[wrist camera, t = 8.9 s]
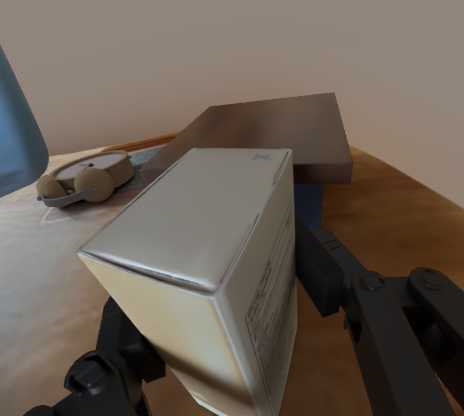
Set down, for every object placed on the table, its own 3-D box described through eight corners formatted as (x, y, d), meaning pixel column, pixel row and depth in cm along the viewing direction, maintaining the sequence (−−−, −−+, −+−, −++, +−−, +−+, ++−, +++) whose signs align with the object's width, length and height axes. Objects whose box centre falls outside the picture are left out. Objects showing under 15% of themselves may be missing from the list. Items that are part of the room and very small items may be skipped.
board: (145, 186, 20) (138, 169, 19) (211, 118, 33) (209, 106, 32) (350, 184, 15) (353, 162, 14) (333, 106, 28) (334, 92, 27)
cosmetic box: (238, 305, 18) (194, 142, 10) (299, 324, 16) (297, 142, 9) (191, 410, 13) (60, 248, 6) (271, 454, 11) (216, 293, 4)
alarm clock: (138, 145, 41) (89, 172, 28) (147, 173, 43) (105, 211, 30) (77, 156, 42) (0, 186, 29) (88, 182, 45) (22, 223, 31)
